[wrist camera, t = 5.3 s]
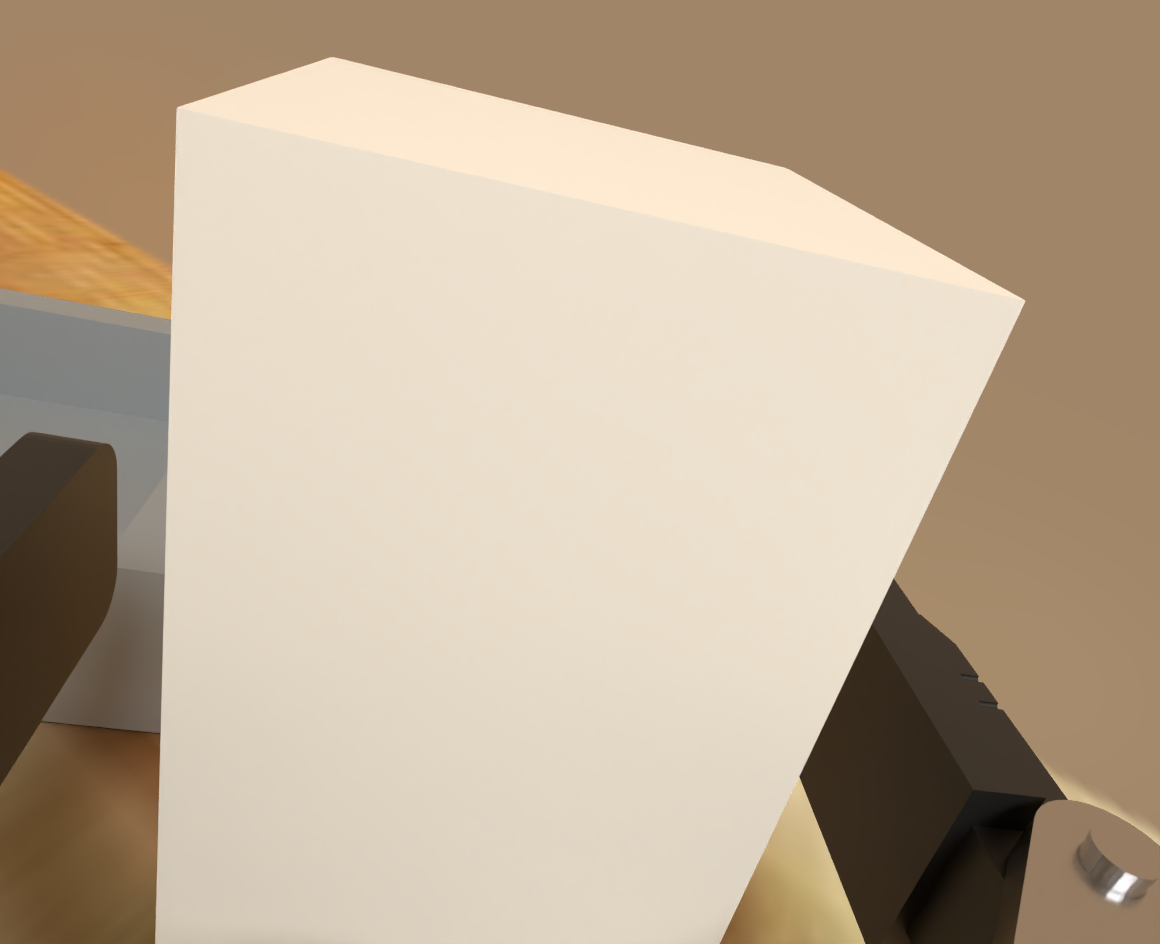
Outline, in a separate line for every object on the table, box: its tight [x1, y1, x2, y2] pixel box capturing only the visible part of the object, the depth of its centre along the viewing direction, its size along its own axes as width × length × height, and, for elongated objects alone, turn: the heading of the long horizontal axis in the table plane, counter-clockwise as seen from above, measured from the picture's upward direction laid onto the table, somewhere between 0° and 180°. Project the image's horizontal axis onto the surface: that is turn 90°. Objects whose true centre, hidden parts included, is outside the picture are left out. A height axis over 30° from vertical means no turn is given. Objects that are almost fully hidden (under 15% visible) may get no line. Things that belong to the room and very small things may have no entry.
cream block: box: [155, 57, 1025, 944], centre depth 9 cm, size 4×4×12 cm
